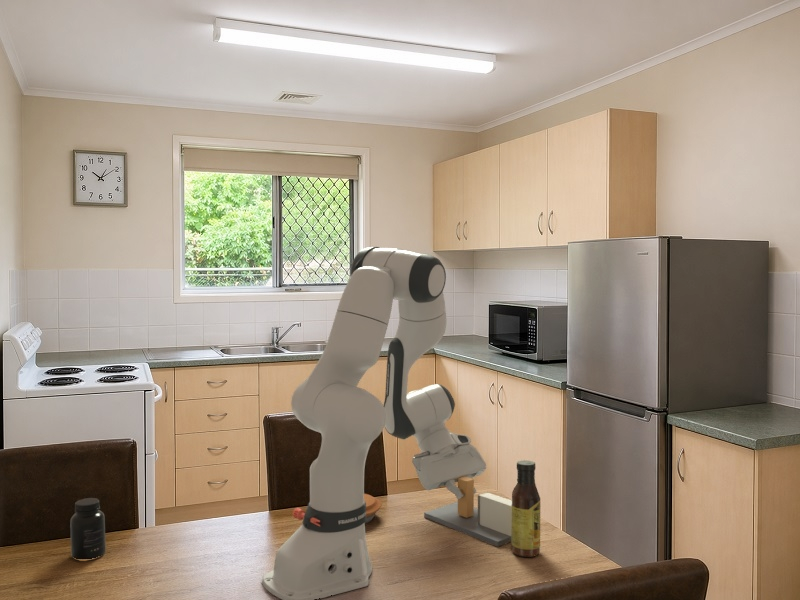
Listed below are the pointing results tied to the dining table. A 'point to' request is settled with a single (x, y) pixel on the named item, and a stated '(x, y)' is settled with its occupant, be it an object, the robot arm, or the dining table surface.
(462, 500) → the tan wooden beam
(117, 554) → the dining table surface
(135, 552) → the dining table surface
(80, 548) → the supplement bottle
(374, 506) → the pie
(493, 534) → the grey base plate
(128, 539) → the dining table surface
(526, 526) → the sauce bottle
